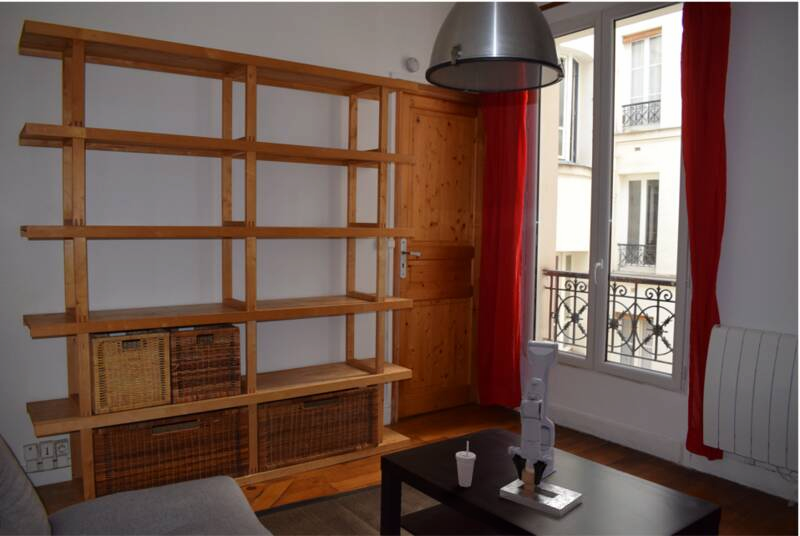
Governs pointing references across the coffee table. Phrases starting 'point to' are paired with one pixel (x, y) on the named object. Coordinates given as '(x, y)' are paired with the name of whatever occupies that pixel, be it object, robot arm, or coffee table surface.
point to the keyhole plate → (542, 497)
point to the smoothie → (465, 466)
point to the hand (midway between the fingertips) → (529, 481)
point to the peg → (528, 479)
